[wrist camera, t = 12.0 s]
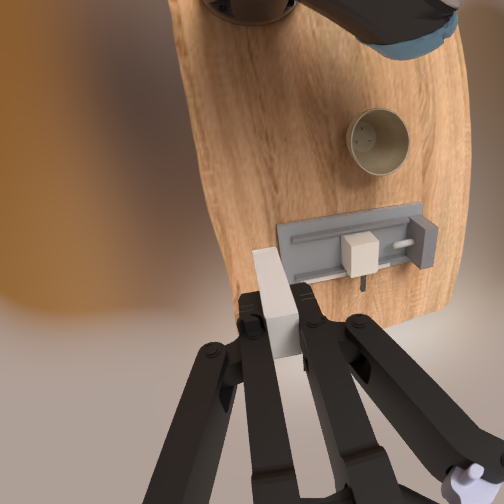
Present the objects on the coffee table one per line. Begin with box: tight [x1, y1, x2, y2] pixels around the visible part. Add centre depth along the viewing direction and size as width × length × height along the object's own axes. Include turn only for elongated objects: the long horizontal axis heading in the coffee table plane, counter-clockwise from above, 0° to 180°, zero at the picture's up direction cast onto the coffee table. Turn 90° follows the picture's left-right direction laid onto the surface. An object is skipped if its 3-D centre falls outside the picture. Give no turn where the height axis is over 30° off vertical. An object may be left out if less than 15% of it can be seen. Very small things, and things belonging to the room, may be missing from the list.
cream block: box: [341, 230, 379, 292], centre depth 50 cm, size 10×5×5 cm, turn 9°
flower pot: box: [346, 108, 410, 176], centre depth 41 cm, size 10×10×7 cm
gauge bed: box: [276, 202, 438, 285], centre depth 50 cm, size 12×28×7 cm, turn 99°
